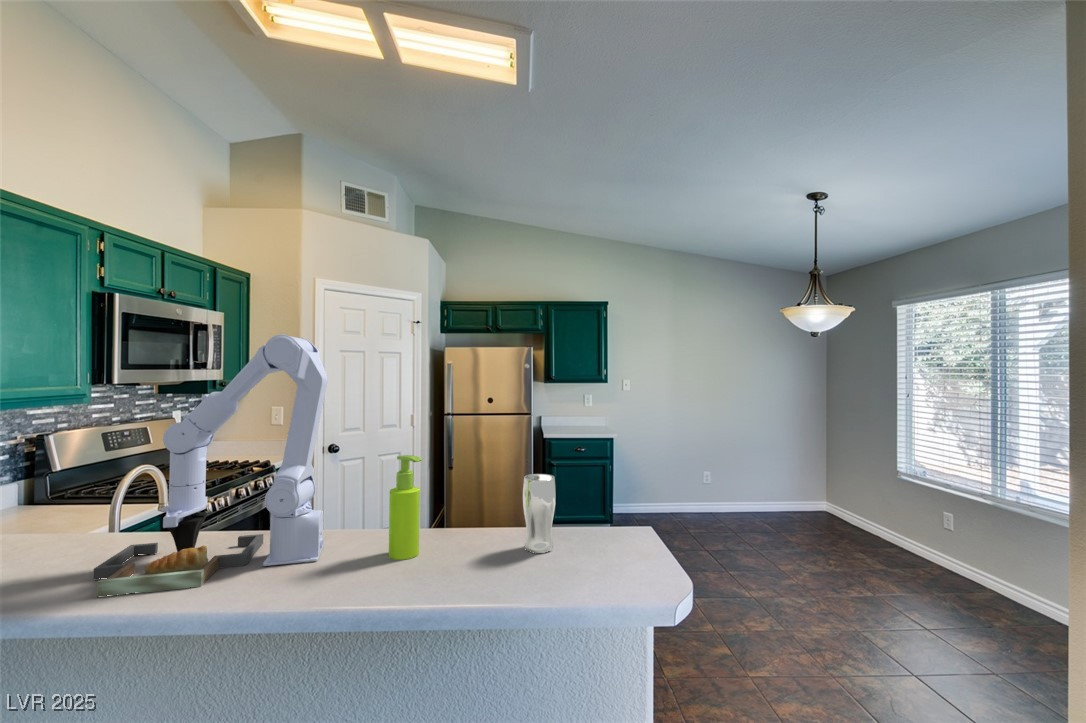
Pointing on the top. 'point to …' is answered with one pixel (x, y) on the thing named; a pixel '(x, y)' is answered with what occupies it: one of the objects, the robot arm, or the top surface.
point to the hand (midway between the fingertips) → (185, 553)
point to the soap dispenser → (404, 513)
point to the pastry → (180, 561)
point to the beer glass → (539, 511)
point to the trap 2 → (242, 558)
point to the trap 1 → (123, 559)
